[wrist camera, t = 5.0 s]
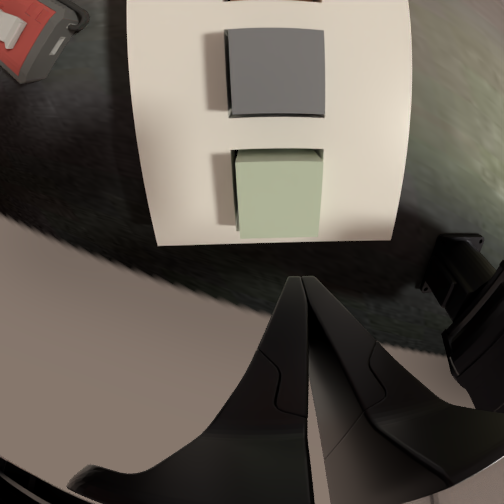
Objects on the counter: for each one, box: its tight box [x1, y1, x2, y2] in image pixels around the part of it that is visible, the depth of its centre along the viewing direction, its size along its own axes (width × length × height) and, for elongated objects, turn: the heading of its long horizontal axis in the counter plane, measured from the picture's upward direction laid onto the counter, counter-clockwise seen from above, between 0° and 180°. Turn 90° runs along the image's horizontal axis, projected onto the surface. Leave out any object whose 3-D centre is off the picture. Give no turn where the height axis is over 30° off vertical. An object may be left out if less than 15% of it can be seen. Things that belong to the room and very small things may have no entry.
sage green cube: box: [235, 148, 323, 239], centre depth 16 cm, size 4×4×4 cm
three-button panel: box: [127, 0, 412, 246], centre depth 13 cm, size 16×21×3 cm
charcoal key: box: [228, 28, 325, 115], centre depth 12 cm, size 4×4×4 cm
